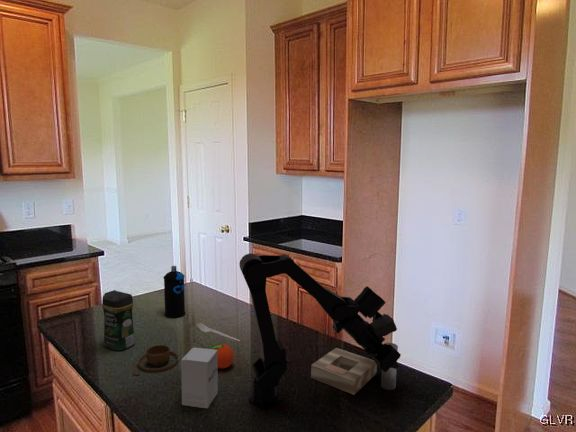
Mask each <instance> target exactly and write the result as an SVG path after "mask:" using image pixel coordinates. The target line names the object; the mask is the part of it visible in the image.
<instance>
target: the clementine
mask: <svg viewBox="0 0 576 432" xmlns="http://www.w3.org/2000/svg"><path fill="white" fill-rule="evenodd" d="M210 349H214V350H218V369H226V368H228V367H230V366H231V364H232V363H233V361H234V357H235V356H234V350H233V349H232V348H231V347H230V345H227V344H225V343H224V344H223V343H222V344H218V345H215V346H213V347H211V348H210Z"/></svg>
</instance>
